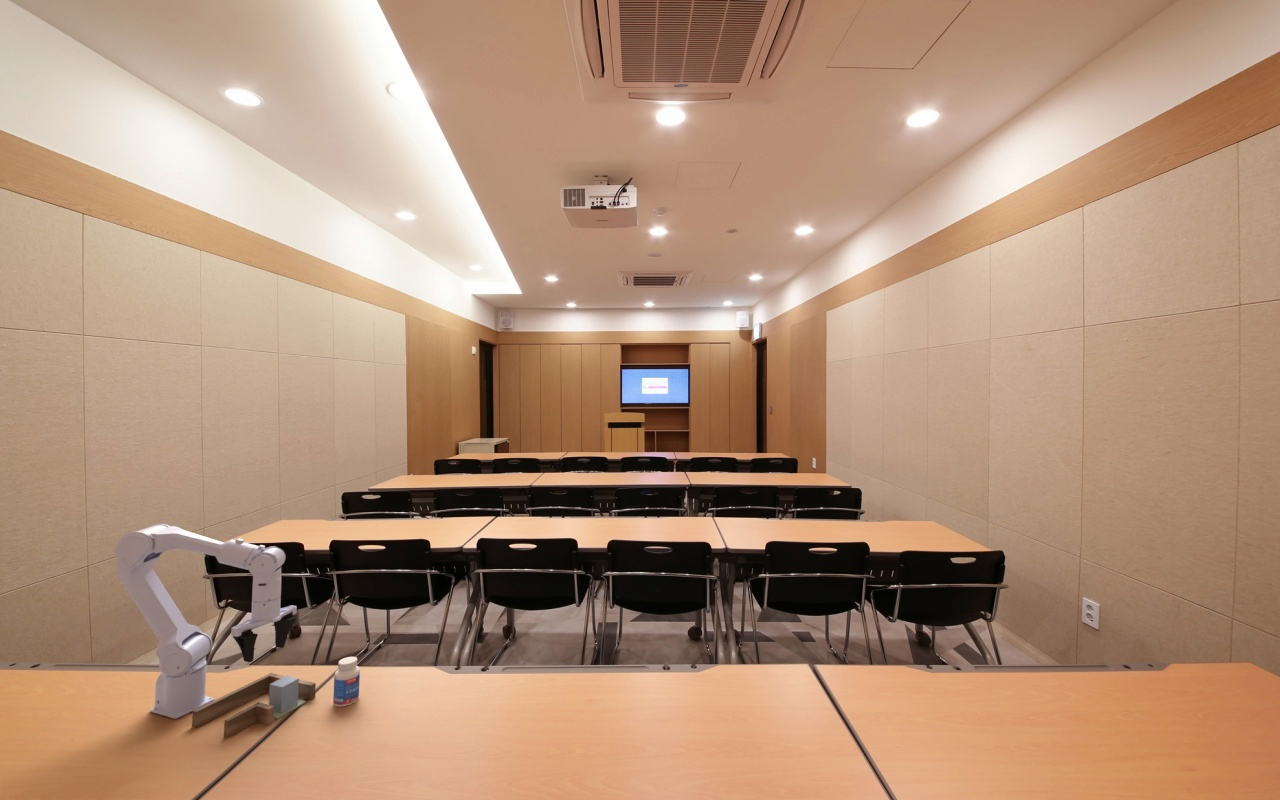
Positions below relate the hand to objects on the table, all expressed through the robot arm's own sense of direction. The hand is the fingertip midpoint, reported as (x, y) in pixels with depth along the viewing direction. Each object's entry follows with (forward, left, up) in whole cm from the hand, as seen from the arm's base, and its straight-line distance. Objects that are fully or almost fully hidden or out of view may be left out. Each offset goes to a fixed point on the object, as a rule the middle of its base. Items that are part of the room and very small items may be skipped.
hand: (264, 653), depth 122 cm
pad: (+10, -2, -10) cm, 14 cm away
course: (+5, -5, -10) cm, 13 cm away
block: (+10, -2, -10) cm, 14 cm away
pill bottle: (+21, +5, -11) cm, 24 cm away
